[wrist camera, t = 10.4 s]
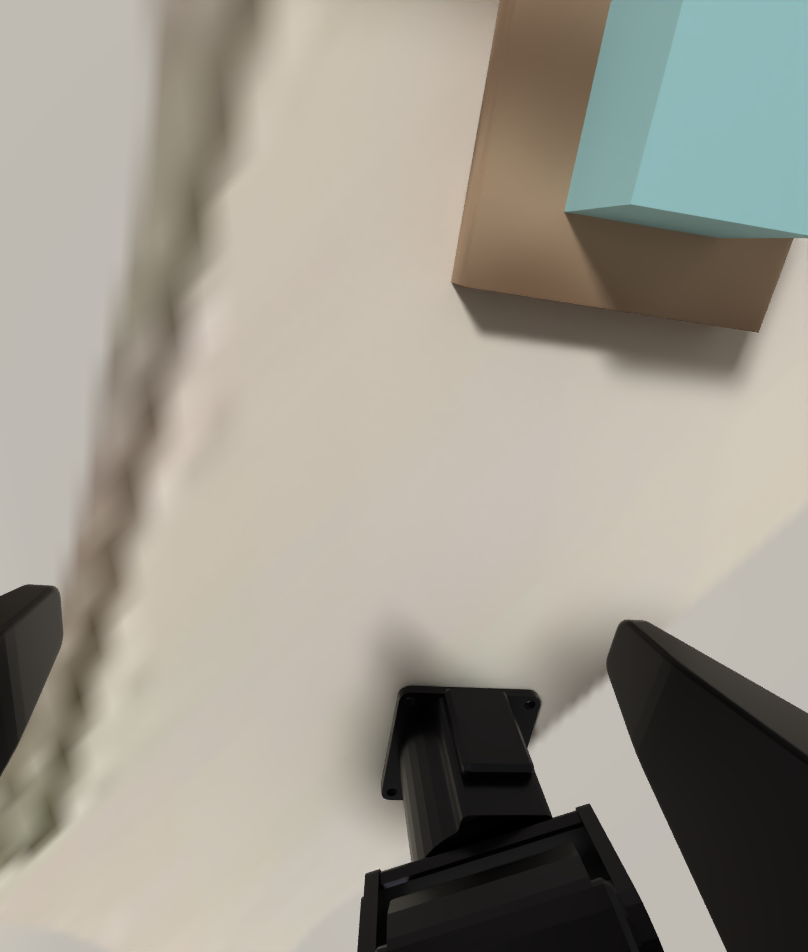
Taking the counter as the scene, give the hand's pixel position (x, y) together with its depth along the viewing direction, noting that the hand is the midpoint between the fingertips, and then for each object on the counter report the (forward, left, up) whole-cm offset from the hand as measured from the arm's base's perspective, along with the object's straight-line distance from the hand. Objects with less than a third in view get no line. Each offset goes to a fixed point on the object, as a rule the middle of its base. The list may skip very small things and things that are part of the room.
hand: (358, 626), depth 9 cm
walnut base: (+10, -8, -12) cm, 18 cm away
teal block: (+10, -8, -10) cm, 16 cm away
